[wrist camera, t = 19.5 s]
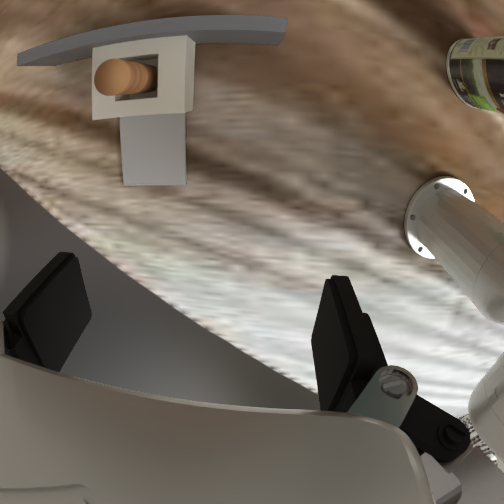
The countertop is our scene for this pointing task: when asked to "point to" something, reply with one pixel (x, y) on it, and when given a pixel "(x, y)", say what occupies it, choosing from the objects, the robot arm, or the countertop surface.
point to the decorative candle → (478, 439)
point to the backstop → (158, 125)
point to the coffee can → (478, 72)
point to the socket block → (169, 77)
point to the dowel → (125, 77)
